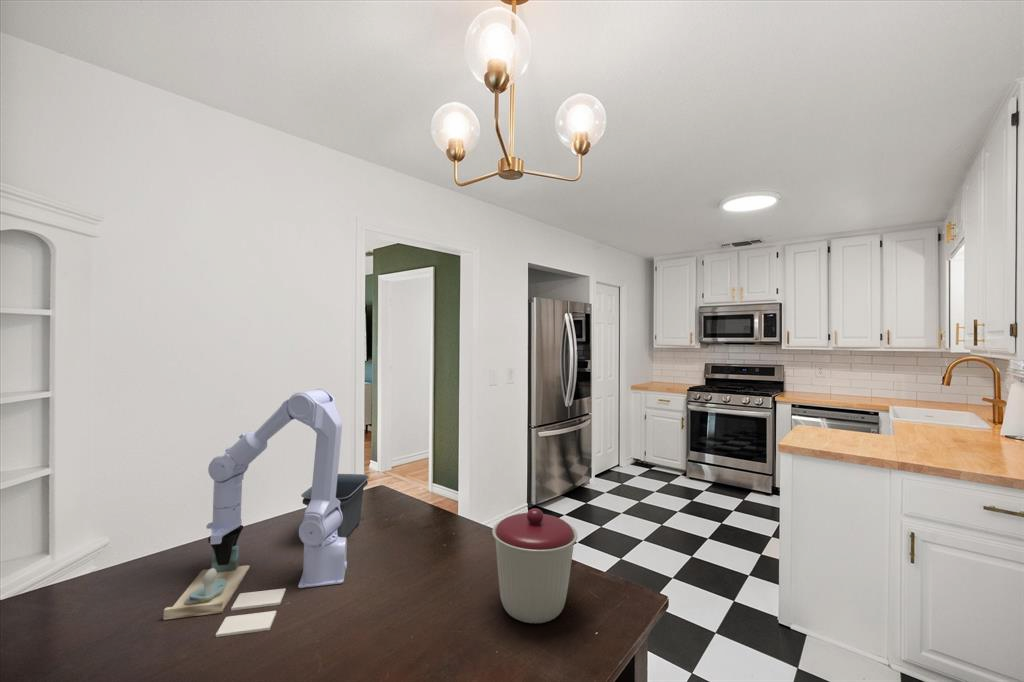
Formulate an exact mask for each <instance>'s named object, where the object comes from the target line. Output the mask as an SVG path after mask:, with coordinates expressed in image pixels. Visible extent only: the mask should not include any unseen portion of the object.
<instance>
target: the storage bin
mask: <svg viewBox="0 0 1024 682" xmlns="http://www.w3.org/2000/svg"><path fill="white" fill-rule="evenodd" d="M369 478H370V476H369V475H368V474H363V473H362V474H358V473H354V474H353V473H351V474H350V473H338V477H337V488H336V498H337V499H338V500H340V509H341V512H342V515H343V520H342V523H341V525H340V526H339V527H338V528H337V533H338V537H346V538H347V539H348V537H349V535H350V534H351V533H352V532H353V530H355V528H356V527H357V526H358V525H359V523H360V522H361V517H362V506H363V505H362V504H363V496H364V495H363V494H364V488H365V487H366V486H367V485H369V484H368V482H369V481H368V479H369ZM311 493H312V486H311V487H309V488H308V489H306V490H305V491H304V492H302V494H301V497H302V498H303V499H302V504H303V505H305V506H306V508H307V507H308V505H309V503H310V501H311Z"/></svg>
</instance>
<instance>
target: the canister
mask: <svg viewBox="0 0 1024 682" xmlns="http://www.w3.org/2000/svg"><path fill="white" fill-rule="evenodd" d="M491 533H492V536H493V538H494V540H495V549H496V552H495V554H496V565H497V576H498V586H499V596H500V601H501V603H502V606H503V609H504V610H505V612H506V613H507V614H508V615H509V616H510V617H512V619H515V620H517V621H519V622H523V623H528V624H533V623H534V624H537V623H538V624H543V623H547V622H551V621H552V620H555V619H556V618H557V617H558V616H560V614H561V613H562V611H563V609H564V607H565V604H566V602H567V600H566V599H567V595H568V589H569V582H570V576H571V575H570V574H571V567H572V560H573V554H574V544H575V543H576V542H577V540H578V532H577V530H576V528H574V526H573V525H571V524H570V523H568V522H567V521H565V520H564V519H563V518H560V517H557V516H554V515H550V514H546V513H543V511H542V510H541V509H539V508H531V509H528V511H527V512H523V513H518V514H517V513H516V514H512V515H510V516H507V517H505V518H503V519H502V520H499V521H498V522H496V524H494V525H493V527H492V531H491Z"/></svg>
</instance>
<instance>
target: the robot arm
mask: <svg viewBox="0 0 1024 682" xmlns="http://www.w3.org/2000/svg"><path fill="white" fill-rule="evenodd" d="M294 420H296V421H298V422H300V423H302V424H305V425H306V426H308V427H310V429H312V430H313V431H314V432H315V433H316V437H315V438H316V439H315V450H314V451H315V452H314V459H313V460H314V462H313V473H312V484H311V487H312V493H311V501H310V503H309V505H308V507H307V506H306V508H305V511H304V515H303V520H302V522H301V523H300V525H299V528H298V536H299V539H300V541H301V542H302V543H303V564H302V565H303V567H302V569H303V571H302V575H301V578H300V581H299V583H298V586H297V587H298V588H299V589H303V588H304V589H305V588H311V587H313V588H314V587H321V586H330V585H338V584H343V583H344V582H345V581H344V580H345V575H346V570H347V567H348V561H347V548H348V546H347V544H348V540H347V539H348V537H347V538H346V537H338V533H337V528H338V527H339V526H340V525H341V523H342V520H343V515H342V512H341V509H340V500H338V499H337V498H336V488H337V477H338V474H339V463H340V455H341V453H340V451H341V442H342V440H341V439H342V429H343V423H342V420H341V417H340V415H339V412H338V410H337V407H336V398H335V397H334V396H333V395H332V394H331V393H330V392H329V391H328V390H326V389H324V388H316V389H313V390H308V391H299V392H294V393H293V394H292V395H291V396H290V397H289V398H288V399H286V400H285V401H283V403H281V405H280V407H278V408H277V410H276V411H275V412H274V413H272V415H271V416H270V417H269V418H268V419H266V420H265V422H264V423H262V425H260V427H259V428H258V429H257V430H255V431H253V430H252V431H248V432H244V433H241V434H240V435H239V436H238V438H239V439H238V440H237V441H236V442H235V444H234V443H233V445H232V446H230V447H227V448H226V449H225V450H224V451H225V453H224V455H220V456H216V457H214V458H212V460H211V461H210V463H209V465H208V468H207V469H208V474H209V477H210V479H212V480H213V501H212V521H211V522H209V523H207V525H206V529H207V530H208V529H209V530H211V534H210V536H209V537H208V539H207V540H208V541H207V542H208V544H209V545H210V547H212V551H213V550H214V552H215V556H216V560H217V563H218V565H228V563H229V561H230V557H231V552H232V547H233V546H237V543H238V541H239V537H240V535H241V532H242V531H243V529H244V525H243V524H242V521H243V520H242V500H243V499H242V497H243V495H242V493H243V480H244V475H245V473H246V472H247V470H248V468H249V465H250V464H251V463H253V461H254V460H255V459H256V458H257V457H259V456H260V455H261V454H262V453H263V452H265V450H267V447H268V440H270V439H272V437H273V436H275V435H276V434H277V433H278V432H279V431H281V430H282V429H283V428H284V427H285V426H286V425H288V424H289V423H290V422H291V421H294Z"/></svg>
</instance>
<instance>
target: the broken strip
mask: <svg viewBox="0 0 1024 682" xmlns="http://www.w3.org/2000/svg"><path fill="white" fill-rule="evenodd" d="M285 593H286V588H278V589H277V588H275V589H268V590H267V589H266V590H261V591H259V590H258V591H251V592H250V591H249V592H242V593H241V592H240V593H239V595H238V596H237V598H236V599H235V601H234V603H233V605H232V606H231V608H230V609H231V610H230V611H232V612H233V611H239V610H246V609H247V610H248V609H256V608H263V607H264V608H265V607H272V606H279V605H281V603H282V601H283V598H284V595H285ZM276 615H277V610H270V611H264V612H254V613H248V614H238V615H229V616H225V618H224V620H223V621H222V623H221V625H220V627H219V628H218V630H217V631H216V633H215V638H220V637H221V638H222V637H227V636H235V635H243V634H249V633H257V632H264V631H270V630H271V628H272V627H271V626H272V625H273V623H274V620H275V618H276Z"/></svg>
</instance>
